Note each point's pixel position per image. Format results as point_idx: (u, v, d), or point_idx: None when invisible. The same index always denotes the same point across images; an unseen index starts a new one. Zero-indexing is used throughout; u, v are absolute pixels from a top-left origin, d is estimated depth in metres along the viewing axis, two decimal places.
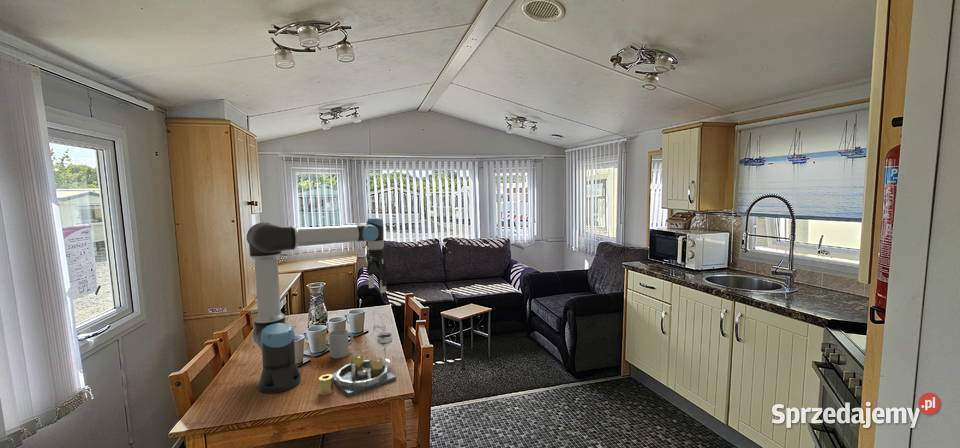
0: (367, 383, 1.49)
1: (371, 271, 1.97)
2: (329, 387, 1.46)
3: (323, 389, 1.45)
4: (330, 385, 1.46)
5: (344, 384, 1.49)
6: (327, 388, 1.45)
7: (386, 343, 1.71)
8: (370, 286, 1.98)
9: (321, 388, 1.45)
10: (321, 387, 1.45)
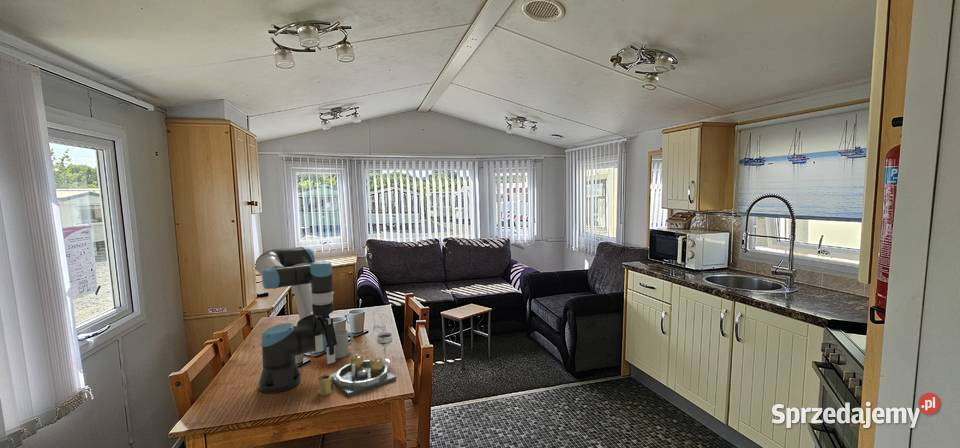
0: (367, 383, 1.49)
1: (318, 330, 1.50)
2: (329, 387, 1.46)
3: (323, 389, 1.45)
4: (330, 385, 1.46)
5: (344, 384, 1.49)
6: (327, 388, 1.45)
7: (386, 343, 1.71)
8: (317, 350, 1.50)
9: (321, 388, 1.45)
10: (321, 387, 1.45)
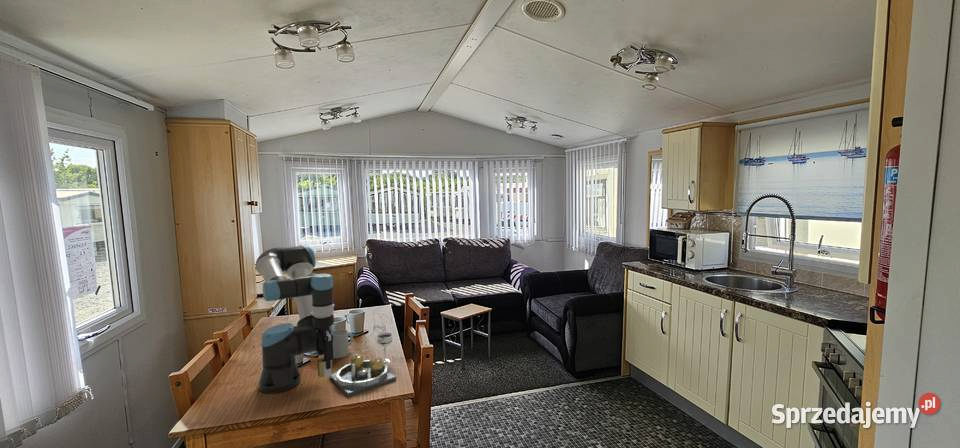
0: (367, 383, 1.49)
1: (321, 347, 1.48)
2: None
3: (322, 371, 1.45)
4: None
5: (344, 384, 1.49)
6: None
7: (386, 343, 1.71)
8: None
9: (320, 370, 1.45)
10: (320, 369, 1.45)
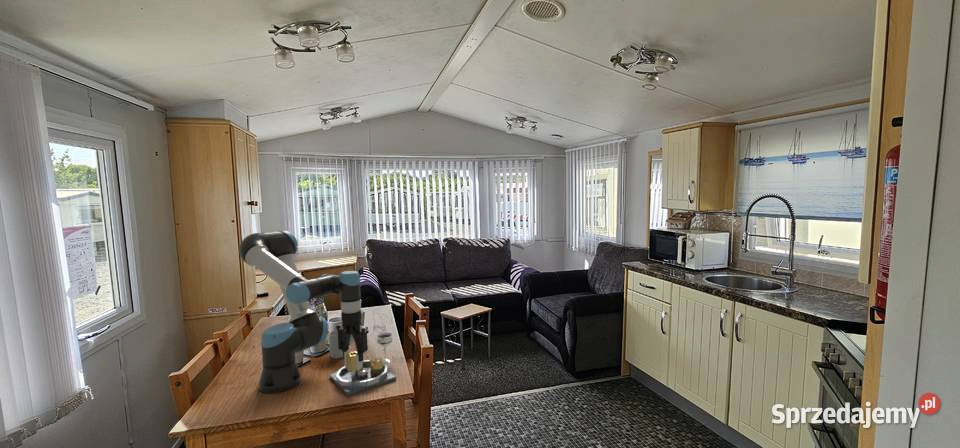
0: (367, 383, 1.49)
1: (347, 344, 1.52)
2: None
3: (354, 365, 1.49)
4: None
5: (344, 384, 1.49)
6: None
7: (386, 343, 1.71)
8: None
9: (352, 364, 1.49)
10: (352, 363, 1.49)
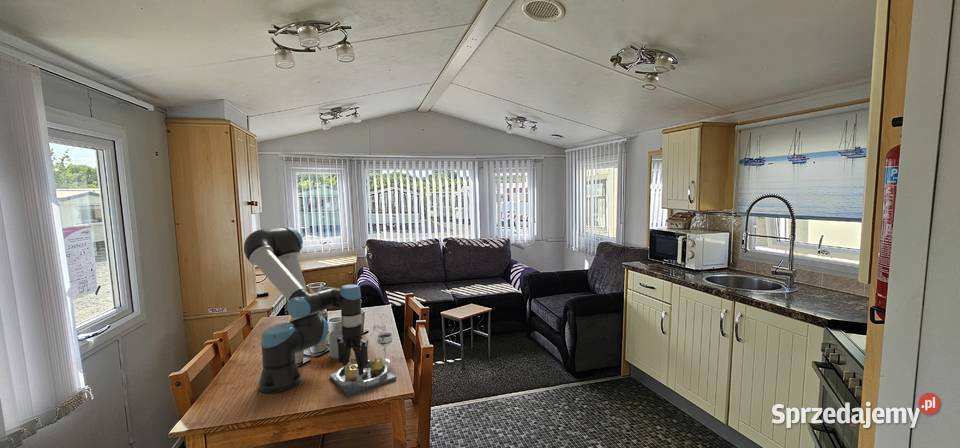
0: (367, 383, 1.49)
1: (347, 357, 1.52)
2: None
3: (354, 378, 1.50)
4: None
5: (344, 384, 1.49)
6: None
7: (386, 343, 1.71)
8: None
9: (352, 378, 1.50)
10: (352, 377, 1.50)
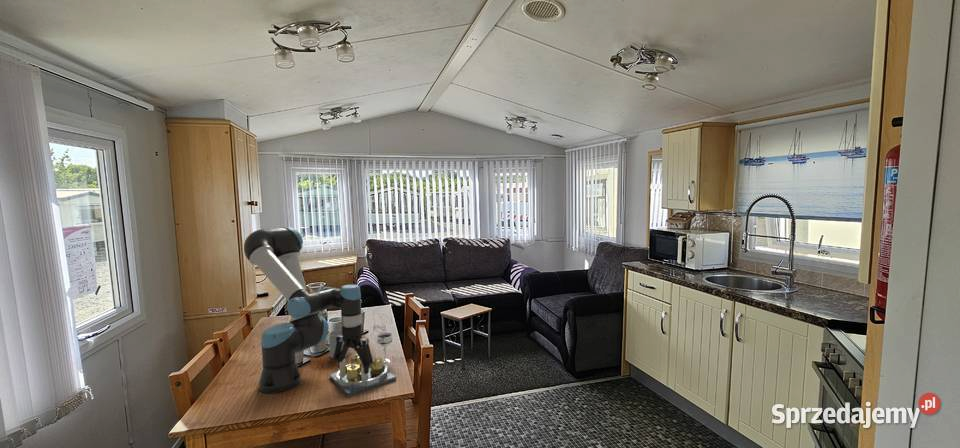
0: (367, 383, 1.49)
1: (343, 355, 1.53)
2: (359, 375, 1.52)
3: (354, 378, 1.50)
4: (359, 373, 1.52)
5: (344, 384, 1.49)
6: (358, 376, 1.51)
7: (386, 343, 1.71)
8: (342, 375, 1.53)
9: (352, 378, 1.50)
10: (352, 377, 1.50)
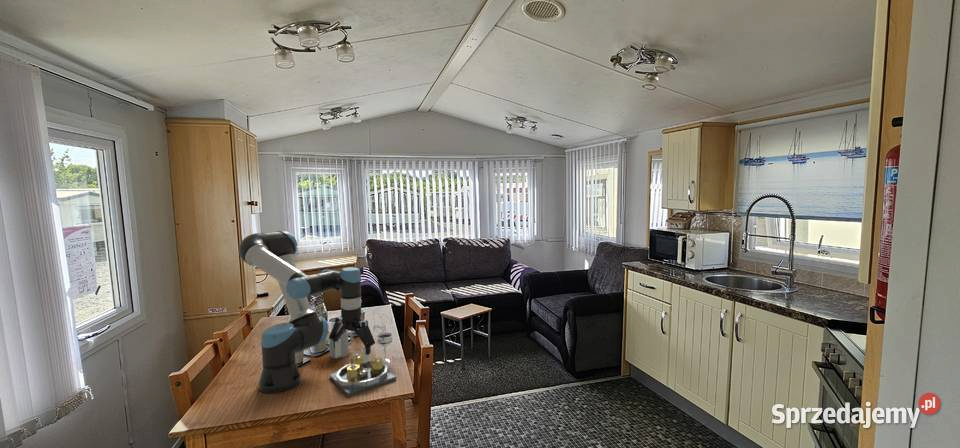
0: (367, 383, 1.49)
1: (339, 336, 1.53)
2: (359, 375, 1.52)
3: (354, 378, 1.50)
4: (359, 373, 1.52)
5: (344, 384, 1.49)
6: (358, 376, 1.51)
7: (386, 343, 1.71)
8: (337, 355, 1.53)
9: (352, 378, 1.50)
10: (352, 377, 1.50)
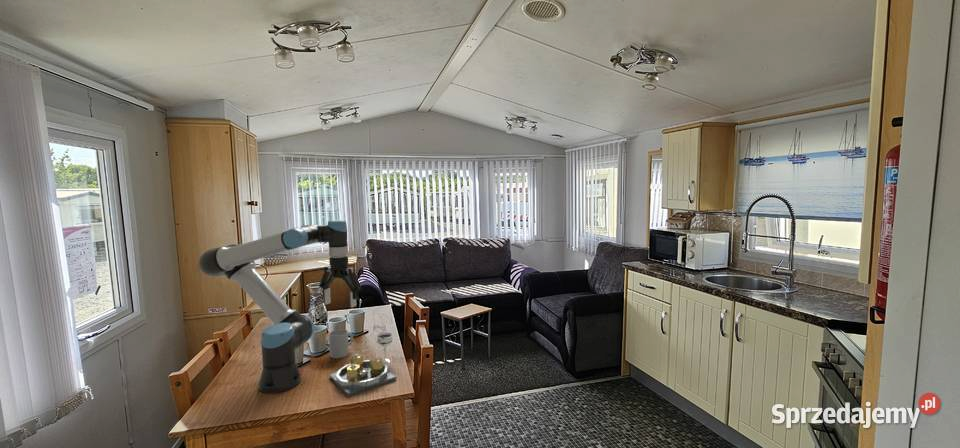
0: (367, 383, 1.49)
1: (328, 284, 1.65)
2: (359, 375, 1.52)
3: (354, 378, 1.50)
4: (359, 373, 1.52)
5: (344, 384, 1.49)
6: (358, 376, 1.51)
7: (386, 343, 1.71)
8: (327, 302, 1.66)
9: (352, 378, 1.50)
10: (352, 377, 1.50)
